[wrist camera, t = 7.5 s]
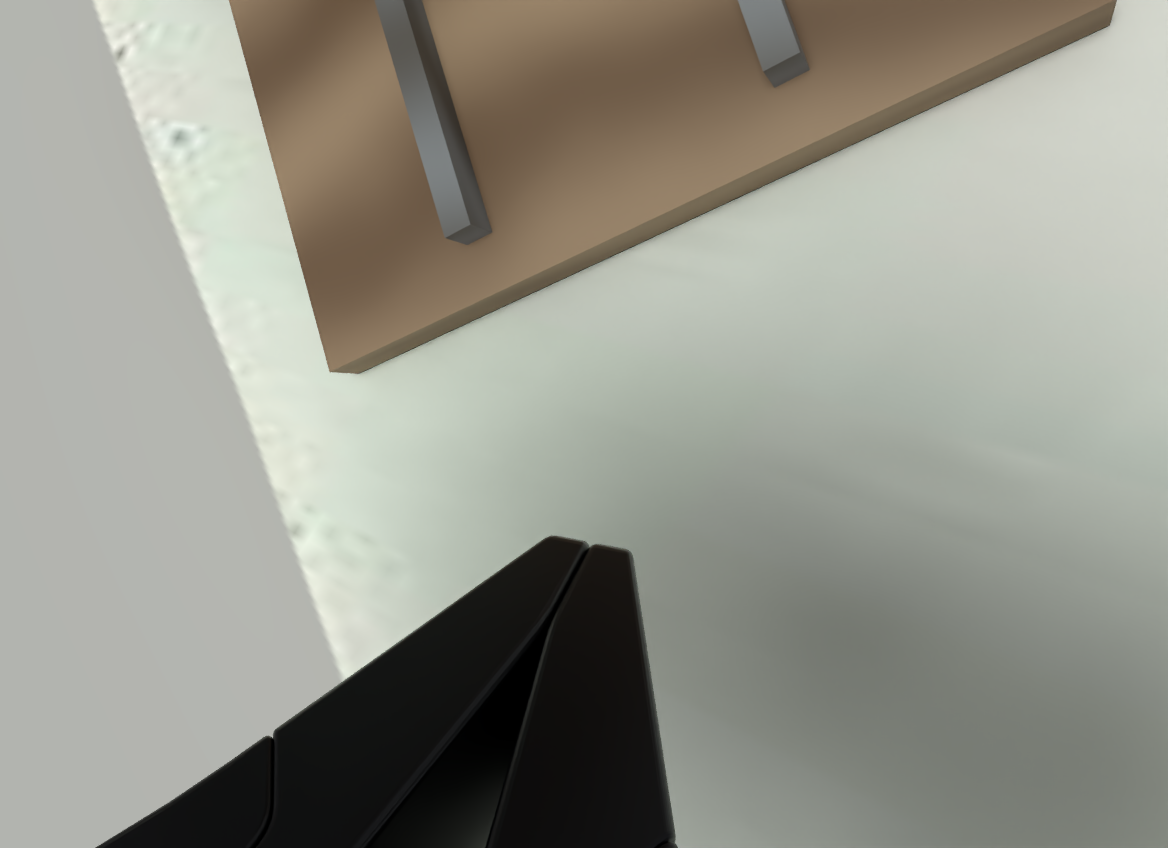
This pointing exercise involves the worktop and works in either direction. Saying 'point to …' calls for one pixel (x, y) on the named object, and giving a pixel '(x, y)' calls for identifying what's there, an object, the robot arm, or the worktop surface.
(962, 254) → the worktop surface
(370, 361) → the knob mount
